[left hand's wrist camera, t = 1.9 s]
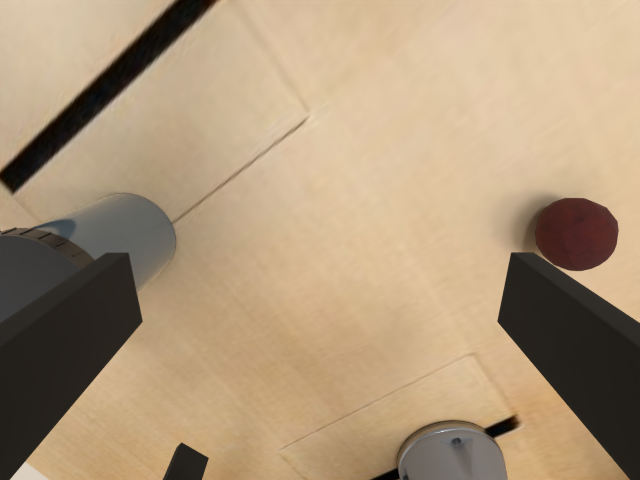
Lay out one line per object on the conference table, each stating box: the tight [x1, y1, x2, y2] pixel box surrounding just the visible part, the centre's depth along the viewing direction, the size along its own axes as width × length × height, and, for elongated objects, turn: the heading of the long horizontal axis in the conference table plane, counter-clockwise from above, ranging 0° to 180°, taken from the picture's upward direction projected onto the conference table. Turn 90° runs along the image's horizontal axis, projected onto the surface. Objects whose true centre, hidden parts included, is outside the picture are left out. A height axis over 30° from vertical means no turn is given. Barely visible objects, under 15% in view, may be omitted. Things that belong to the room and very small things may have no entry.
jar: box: [29, 193, 176, 296], centre depth 34 cm, size 10×10×15 cm
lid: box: [0, 227, 94, 323], centre depth 27 cm, size 11×11×2 cm
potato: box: [535, 198, 619, 271], centre depth 37 cm, size 7×8×7 cm
